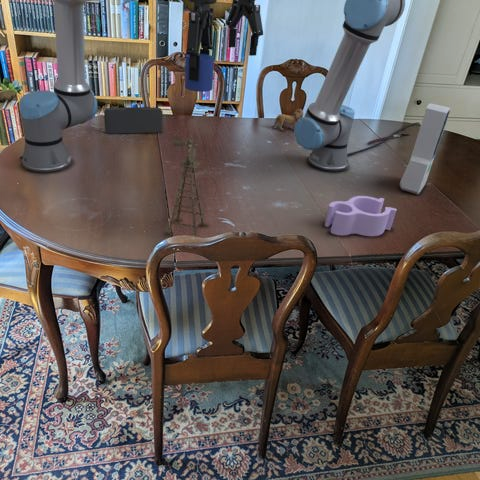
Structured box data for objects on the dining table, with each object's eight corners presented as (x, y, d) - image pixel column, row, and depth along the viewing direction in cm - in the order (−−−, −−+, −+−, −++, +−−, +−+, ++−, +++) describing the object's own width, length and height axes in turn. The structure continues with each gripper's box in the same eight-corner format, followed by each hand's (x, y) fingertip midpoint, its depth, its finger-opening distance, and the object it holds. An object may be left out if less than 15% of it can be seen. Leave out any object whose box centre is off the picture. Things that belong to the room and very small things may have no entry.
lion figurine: (298, 126, 216) (301, 107, 212) (303, 130, 212) (306, 111, 207) (269, 127, 212) (271, 107, 207) (273, 131, 207) (276, 111, 203)
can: (218, 89, 134) (220, 58, 129) (198, 93, 128) (200, 61, 124) (198, 82, 138) (199, 52, 133) (178, 86, 132) (179, 54, 128)
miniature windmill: (195, 240, 128) (201, 135, 112) (166, 234, 129) (167, 130, 113) (204, 224, 136) (210, 124, 119) (176, 219, 137) (178, 119, 120)
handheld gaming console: (161, 130, 196) (161, 106, 191) (162, 132, 194) (162, 108, 189) (105, 131, 189) (103, 107, 184) (105, 134, 187) (104, 109, 181)
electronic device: (417, 196, 165) (445, 112, 149) (397, 189, 168) (422, 107, 152) (426, 184, 174) (453, 104, 158) (406, 178, 177) (431, 99, 161)
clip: (337, 240, 135) (342, 219, 131) (318, 218, 145) (322, 198, 141) (395, 233, 141) (402, 213, 137) (373, 213, 151) (378, 194, 147)
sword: (406, 132, 223) (406, 130, 222) (411, 134, 221) (412, 132, 220) (362, 144, 207) (363, 141, 206) (368, 146, 205) (368, 143, 204)
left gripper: (204, -11, 110) (199, 87, 122) (228, -16, 127) (222, 71, 139) (174, -15, 111) (172, 82, 123) (201, -19, 128) (198, 67, 140)
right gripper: (219, -19, 168) (215, 44, 180) (260, -9, 151) (253, 59, 163) (236, -18, 172) (231, 43, 183) (278, -9, 155) (270, 58, 167)
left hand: (198, 76), depth 131 cm, fingers closed on can, 8 cm apart
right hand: (241, 51), depth 173 cm, fingers open, 13 cm apart
